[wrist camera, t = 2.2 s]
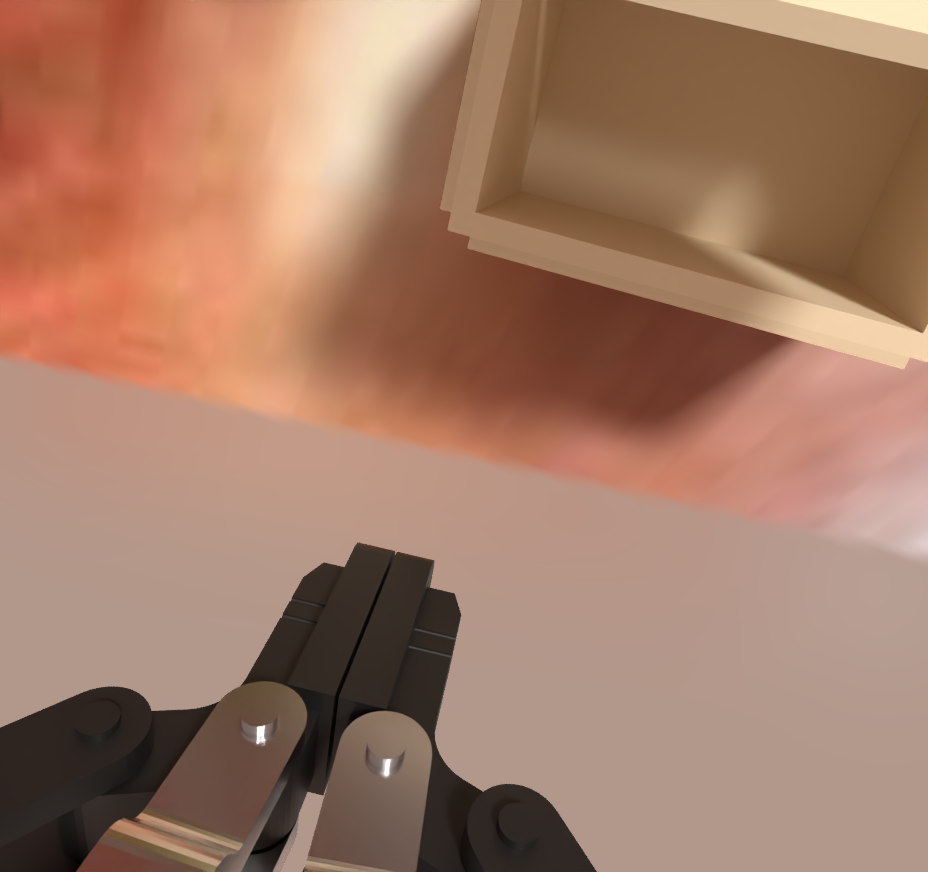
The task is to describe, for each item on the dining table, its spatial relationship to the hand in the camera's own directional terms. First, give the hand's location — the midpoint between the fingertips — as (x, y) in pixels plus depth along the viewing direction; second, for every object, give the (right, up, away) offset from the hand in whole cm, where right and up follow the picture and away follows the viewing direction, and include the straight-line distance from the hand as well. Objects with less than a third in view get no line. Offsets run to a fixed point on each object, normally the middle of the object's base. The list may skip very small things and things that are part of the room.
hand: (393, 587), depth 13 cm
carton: (+12, +17, +16) cm, 26 cm away
